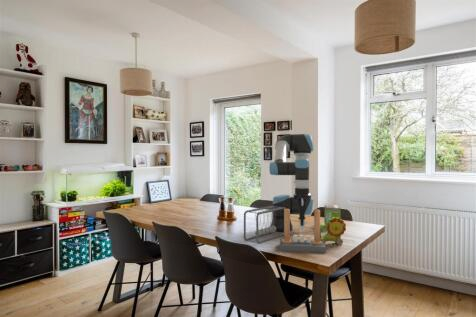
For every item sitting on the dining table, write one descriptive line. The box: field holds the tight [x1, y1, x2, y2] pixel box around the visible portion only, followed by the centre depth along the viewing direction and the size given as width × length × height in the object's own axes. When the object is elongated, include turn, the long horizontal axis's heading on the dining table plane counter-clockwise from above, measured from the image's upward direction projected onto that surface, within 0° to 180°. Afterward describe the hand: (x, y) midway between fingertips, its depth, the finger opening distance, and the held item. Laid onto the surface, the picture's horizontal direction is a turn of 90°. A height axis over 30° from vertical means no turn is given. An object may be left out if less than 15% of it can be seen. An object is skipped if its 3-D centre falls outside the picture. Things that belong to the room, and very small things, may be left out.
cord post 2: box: [312, 209, 322, 245], centre depth 173 cm, size 5×5×18 cm
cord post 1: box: [282, 209, 293, 244], centre depth 175 cm, size 5×5×18 cm
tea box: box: [323, 204, 341, 225], centre depth 227 cm, size 15×10×15 cm
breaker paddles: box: [293, 234, 312, 243], centre depth 174 cm, size 2×9×4 cm, turn 81°
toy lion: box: [320, 217, 347, 246], centre depth 183 cm, size 16×5×15 cm, turn 92°
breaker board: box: [278, 238, 327, 254], centre depth 174 cm, size 12×24×3 cm, turn 81°
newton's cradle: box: [243, 205, 286, 245], centre depth 197 cm, size 30×10×18 cm, turn 139°
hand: (301, 231), depth 174 cm, fingers closed
